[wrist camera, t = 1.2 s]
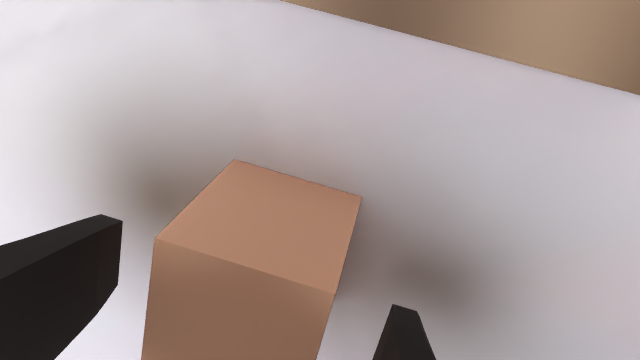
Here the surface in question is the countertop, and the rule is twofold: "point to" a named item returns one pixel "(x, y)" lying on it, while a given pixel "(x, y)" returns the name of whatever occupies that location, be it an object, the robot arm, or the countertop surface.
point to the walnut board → (519, 31)
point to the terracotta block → (248, 269)
